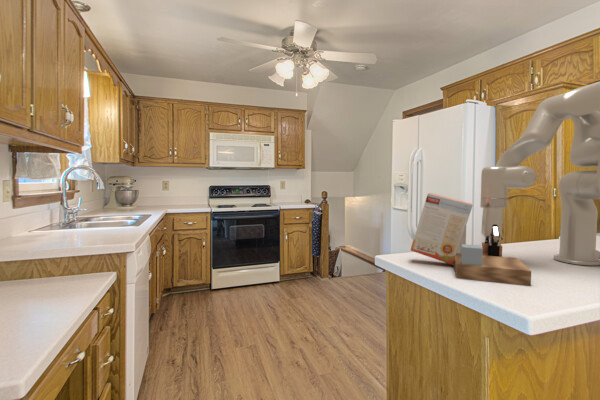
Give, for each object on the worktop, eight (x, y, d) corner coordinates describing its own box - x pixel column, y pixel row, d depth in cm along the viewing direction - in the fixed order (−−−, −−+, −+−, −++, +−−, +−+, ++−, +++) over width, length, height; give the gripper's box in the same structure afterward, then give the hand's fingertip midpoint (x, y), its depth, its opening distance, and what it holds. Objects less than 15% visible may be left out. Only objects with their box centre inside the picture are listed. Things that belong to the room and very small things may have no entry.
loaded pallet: (507, 263, 109) (507, 244, 109) (509, 267, 104) (510, 247, 103) (474, 260, 113) (474, 241, 113) (474, 264, 108) (475, 244, 108)
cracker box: (453, 261, 109) (473, 203, 105) (452, 265, 103) (473, 204, 100) (412, 247, 115) (429, 192, 111) (409, 250, 109) (427, 192, 106)
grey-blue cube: (479, 262, 94) (480, 245, 94) (481, 266, 90) (482, 248, 90) (460, 260, 96) (461, 244, 96) (462, 264, 92) (462, 247, 92)
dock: (516, 270, 100) (517, 258, 100) (530, 285, 85) (531, 271, 85) (453, 264, 107) (453, 252, 107) (456, 277, 92) (456, 264, 92)
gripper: (477, 201, 117) (476, 249, 118) (484, 204, 101) (482, 259, 102) (501, 202, 114) (499, 251, 115) (512, 205, 98) (509, 262, 99)
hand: (491, 254), depth 108 cm, fingers open, 7 cm apart
